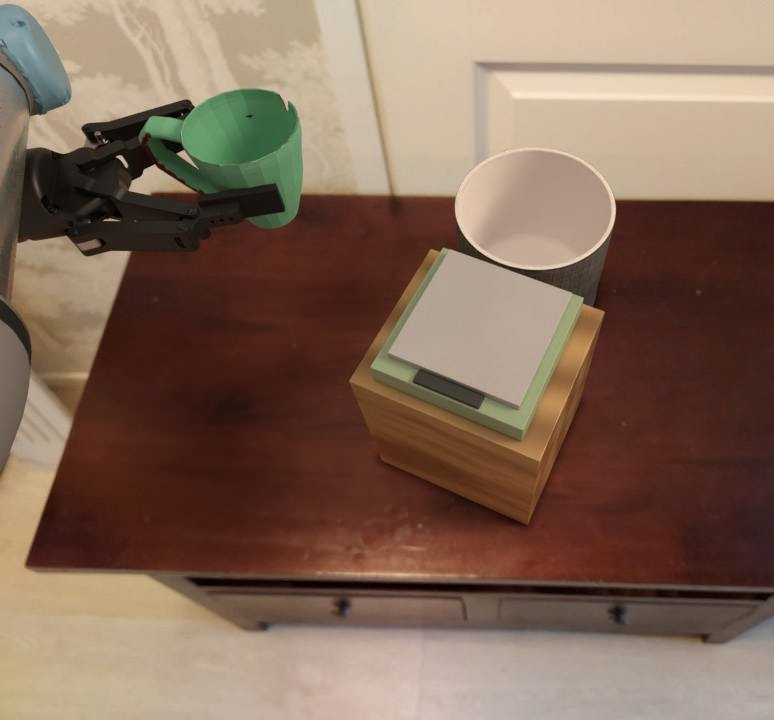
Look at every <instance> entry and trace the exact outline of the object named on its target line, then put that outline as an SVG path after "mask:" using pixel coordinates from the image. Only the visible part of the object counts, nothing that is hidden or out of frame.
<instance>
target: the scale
mask: <svg viewBox="0 0 774 720" xmlns="http://www.w3.org/2000/svg"><path fill="white" fill-rule="evenodd" d="M439 252H440V253H439V255H438V256H437V258H436V260H435V261H434V263H433V265H432V266H431V268H430V270H429V271H428V273H427V275H426V276H425V278H424V279H423V281H422V283H421V284H420V286H419V288H418V289H417V291H416V293H415V294H414V296H413V298H412V299H411V301H410V302H409V304H408V306H407V307H406V309H405V311H404V312H403V314H402V316H401V317H400V319H399V321H398V322H397V324H396V325H395V327H394V329H393V330H392V332H391V334H390V335H389V337H388V339H387V340H386V342H385V344H384V345H383V347H382V348H381V350H380V352H379V353H378V355H377V357H376V358H375V360H374V362H373V363H372V365H371V367H370V369H371V372H372V374H373V377H374V380H376V381H378V382H380V383H383V384H385V385H388V386H390V387H392V388H395V389H397V390H400V391H402V392H404V393H407V394H409V395H412V396H414V397H416V398H419V399H421V400H424V401H426V402H428V403H431V404H433V405H436V406H438V407H440V408H443V409H445V410H447V411H450V412H452V413H455V414H457V415H459V416H462V417H464V418H467V419H469V420H471V421H474V422H476V423H479V424H481V425H483V426H486V427H488V428H491V429H493V430H495V431H498V432H500V433H503V434H505V435H507V436H510V437H512V438H515V439H517V440H519V441H522V440H523V438H524V436H525V434H526V431H527V429H528V427H529V425H530V423H531V420H532V418H533V416H534V414H535V412H536V409H537V407H538V405H539V403H540V401H541V399H542V396H543V394H544V392H545V390H546V388H547V385H548V383H549V381H550V379H551V377H552V374H553V372H554V370H555V368H556V366H557V363H558V361H559V359H560V357H561V355H562V352H563V350H564V348H565V346H566V344H567V341H568V339H569V337H570V335H571V333H572V330H573V328H574V326H575V324H576V322H577V319H578V317H579V315H580V313H581V309H582V304H583V300H584V298H583V297H580V296H577V295H574V294H572V293H571V292H568V291H565V290H562V289H560V288H557V287H554V286H551V285H549V284H546V283H543V282H540V281H537V280H535V279H532V278H529V277H526V276H523V275H521V274H518V273H515V272H512V271H510V270H507V269H504V268H501V267H498V266H496V265H493V264H490V263H487V262H484V261H482V260H479V259H476V258H473V257H471V256H468V255H465V254H462V253H459V252H458V250H457V251H456V250H453V249H451V248H447V247H442V248H441V250H440V251H439Z"/></svg>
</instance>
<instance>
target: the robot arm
mask: <svg viewBox="0 0 774 720" xmlns="http://www.w3.org/2000/svg"><path fill="white" fill-rule="evenodd" d="M72 94H73V91H72V86H71V81H70V78H69V75H68V74H67V71H66V69H65V66H64V64H63V62H62V60H61V57H60V56H59V53H58V52H57V49H56V48H55V46H54V45H53V43H52V41H51V39H50V37H49V36H48V34H47V32H46V31H45V30H44V28H43V27H42V25H41V24H40V23H39V20H37V18H35V16H33V15H32V14H31V12H29V11H28V10H27V9H26V8H23V7H22V6H20V5H17V4H13V3H4V4H0V472H2V470H3V468H4V466H5V464H6V461H7V460H8V458H9V455H10V454H11V453H10V452H11V450H12V447H13V444H14V442H15V440H16V436H17V434H18V432H19V428H20V425H21V423H22V420H23V417H24V412H25V409H26V405H27V400H28V395H29V389H30V383H31V369H32V352H33V349H32V340H31V335H30V332H29V331H30V330H29V328H28V326H27V324H26V322H25V321H24V319H23V318H22V316H21V314H20V313H19V312H18V311H17V309H16V308H15V306H14V305H12V299H13V290H14V289H13V287H14V278H15V268H16V261H17V260H16V259H17V250H18V249H17V248H18V244H22V243H25V242H27V241H29V240H30V241H32V242H33V241H34V242H38V241H44V240H49V239H56V238H57V239H58V238H62V237H67V238H68V239H69V240H70V241H71V243H72V244H73V245H74V246H75V247H76V248H77V249H78V251H79V252H80V253H81V254H82V255H83V256H84V257H88V258H89V257H92V256H96V255H100V254H104V253H109V252H163V253H167V252H169V253H170V252H171V253H175V252H176V253H177V252H179V253H193V252H196V251H198V250H200V247H201V243H200V241H199V240H201V241H205V240H208V239H209V238H210V237H211V236H212V231H211V229H215V228H222V227H226V226H227V227H228V226H235V225H239V224H241V223H243V222H245V219H246V218H250V217H256V216H262V215H269V214H275V213H281V212H285V204H284V202H283V199H282V197H281V194H280V192H279V189H278V187H277V184H276V183H274V184H267V185H261V186H256V187H252V188H242V189H235V190H229V191H223V192H216V193H210V194H203V195H200V194H197V198H196V199H197V202H196V203H197V204H198V206H197V205H196V204H193V203H189V202H183V201H180V200H176V199H175V200H174V199H170V198H165V197H160V196H155V195H151V194H146V193H141V192H136V191H132V190H130V188H131V185H132V182H133V181H135V180H137V179H139V178H141V177H142V176H143V175H144V171H145V170H147V169H149V168H150V167H152V166H154V165H155V163H154V162H153V161H152V159H151V158H150V157H149V155H148V154H147V152H146V151H145V150H144V148H143V147H142V145H141V143H140V141H139V135H140V132H141V130H142V129H143V127H144V125H145V124H146V122H147V121H148V119H149V118H150V117H152V116H159V117H170V118H175V119H179V120H183V121H184V120H185V119H186V118H187V116H188V115H189V114H190V113H191V111H192V110H193V109H194V108H195V107H196V106H195V105H194V104H193V102H192V101H191V100H190V99H187V98H185V99H181V100H177V101H174V102H171V103H167V104H164V105H160V106H157V107H154V108H150V109H147V110H144V111H140V112H137V113H134V114H130V115H126V116H123V117H119V118H115V119H112V120H109V121H99V122H87V123H84V124H83V125H82V126H81V127H80V130H81V132H82V133H83V134H84V136H85V137H86V138H85V141H84V144H83V146H82V147H78V148H76V149H73V150H72V151H70V152H69V151H68V152H66V153H60V152H59V151H58V152H57V151H54V150H51V149H49V148H47V147H44V146H43V147H42V146H38V147H31V148H28V140H29V129H30V119H31V117H33V116H43V115H44V116H45V115H47V114H48V112H50V111H53V110H56V109H59V108H61V107H64V106H65V105H67V104H69V103H70V101H71V99H72V97H73V95H72ZM252 116H253V115H247V116H246V117H249V118H251V117H252ZM160 140H161V142H162V143H163V144H164V146H165V147H166V149H167V150H171V151H172V152H174V153H176V154H177V155H178V154H179V153H182V152H184V151H185V150H184V148H183V146H182V143H178V142H174V141H170V140H166V139H160ZM119 156H120V157H121V156H122V158H123V160H124V162H125V163H126V164H127V166H125V164H124V162H123V160H121V159H120V158H119ZM155 166H156V165H155Z"/></svg>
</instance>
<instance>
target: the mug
mask: <svg viewBox="0 0 774 720" xmlns="http://www.w3.org/2000/svg"><path fill="white" fill-rule="evenodd" d="M247 115H253V116H252V117H251V118H249V117H246V116H247ZM299 117H300V116H299V114H298V111H297V107H296V106H295V105H294V104H293V102H291V101H290V100H287V107H286V103H285V101H284V99H283V97H282V95H280V93H278V92H276V91H274V90H269V89H265V88H260V87H249V88H237V89H232V90H228V91H223V92H220V93H218V94H216V95H214V96H211V97H209V98H207V99H205V100H204V101H202V102H201V103H199V104H198V105H197V106H195V108H194V109H193V110H192V111H191V113H190V114H189V115H188V116H187V118H186V119H185V120H184V121H183V120H179V119H175V118H170V117H159V116H152V117H150V118H149V119H148V121H147V122H146V124H145V125H144V127H143V129H142V130H141V132H140V135H139V141H140V143H141V145H142V147H143V148H144V150H145V151H146V152H147V154H148V155H149V157H150V158H151V159H152V161H153V162H154V163H155V166H156V168H157V169H159V170H160V171H162V172H163V173H165V174H166V175H168V176H169V177H171V178H173V179H174V180H175V181H177V182H178V183H181V184H182V185H183V186H185V187H187V188H189V189H190V190H191V191H193V192H194V193H196V194H197V195H203V194H210V193H216V192H223V191H229V190H235V189H242V188H252V187H256V186H261V185H267V184H274V183H276V184H277V187H278V189H279V192H280V194H281V197H282V199H283V202H284V204H285V212H281V213H275V214H269V215H262V216H256V217H250V218H245V219H246V220H247V221H249V222H250V223H251V224H252V225H253V226H256V227H257V228H259V229H260V228H261V229H264V230H273V229H278V228H282V227H284V226H286V225H288V224H290V223H291V221H293V220H294V219H295V218H296V216H297V214H298V212H299V208H300V201H301V195H302V189H303V179H304V178H303V176H304V162H303V161H304V160H303V149H302V148H303V143H302V142H303V137H302V135H303V133H302V132H303V131H302V124H301V121H300V118H299ZM160 139H166V140H170V141H174V142H178V143H182V146H183V148H184V150H183V151H184V152H185V153H186V155H187V156H188V157H189V159H190V160H191V162H192V163H193V164H194V165H193V164H192V163H190V162H189V161H187V160H186V159H184V158H183V157H182V156H181V155H179V154H178V153H177V154H176V153H174V152H172V151H171V150H167V149H166V147H165V146H164V144H163V143H162V142H161V140H160Z"/></svg>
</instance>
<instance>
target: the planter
mask: <svg viewBox="0 0 774 720" xmlns="http://www.w3.org/2000/svg"><path fill="white" fill-rule="evenodd" d="M454 198H455V199H454V219H455V231H456V232H455V233H456V245H457V252H459V253H462V254H465V255H468V256H471V257H473V258H476V259H479V260H482V261H484V262H487V263H490V264H493V265H496V266H498V267H501V268H504V269H507V270H510V271H512V272H515V273H518V274H521V275H523V276H526V277H529V278H532V279H535V280H537V281H540V282H543V283H546V284H549V285H551V286H554V287H557V288H560V289H562V290H565V291H568V292H571V293H572V294H574V295H577V296H580V297H583V298H584V300H583V304H585V305H588V306H590V307H593V308H594V305H595V302H596V297H597V292H598V287H599V284H600V280H601V276H602V273H603V269H604V265H605V261H606V259H607V258H606V257H607V253H608V249H609V246H610V242H611V239H612V236H613V235H612V234H613V230H614V227H615V222H616V217H617V204H616V203H617V202H616V199H615V195H614V192H613V190H612V188H611V186H610V184H609V183H608V181H607V180H606V178H605V177H604V176H603V175H602V174H601V172H599V171H598V169H596V168H595V167H594V166H593V165H591V164H590V163H589V162H587V161H586V160H584V159H582V158H580V157H578V156H576V155H574V154H571V153H569V152H566V151H562V150H559V149H554V148H548V147H539V146H528V147H527V146H526V147H518V148H511V149H507V150H504V151H501V152H497V153H495V154H493V155H491V156H489V157H487V158H485V159H484V160H482V161H480V162H479V163H477V164H476V165H475V166H473V167H472V169H470V170H469V171H468V172H467V174H466V175H465V176H464V177H463V179H462V180H461V182H460V184H459V186H458V188H457V190H456V195H455V197H454Z"/></svg>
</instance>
